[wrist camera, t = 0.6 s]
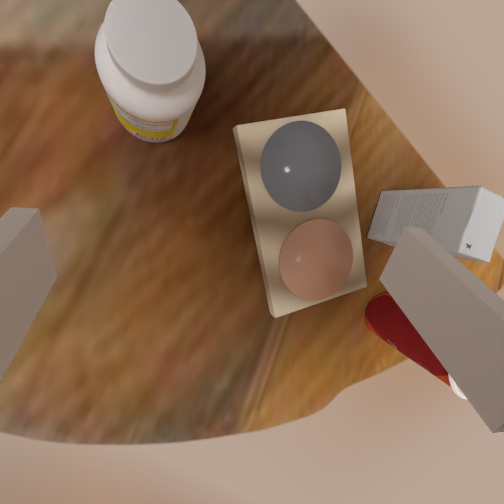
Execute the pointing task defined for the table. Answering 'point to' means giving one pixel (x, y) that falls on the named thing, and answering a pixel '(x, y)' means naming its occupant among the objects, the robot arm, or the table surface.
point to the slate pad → (301, 166)
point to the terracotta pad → (316, 259)
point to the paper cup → (404, 336)
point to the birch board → (284, 221)
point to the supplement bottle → (150, 66)
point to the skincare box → (442, 218)
